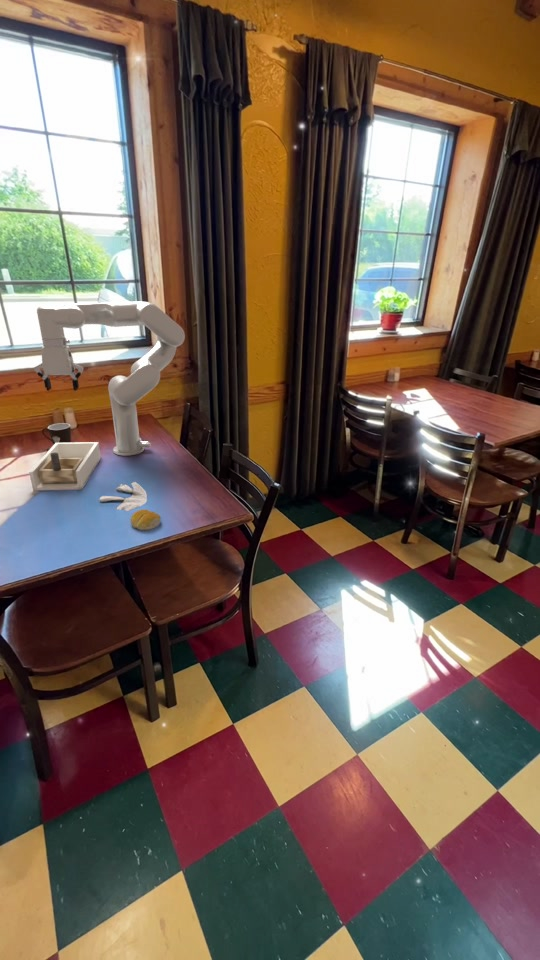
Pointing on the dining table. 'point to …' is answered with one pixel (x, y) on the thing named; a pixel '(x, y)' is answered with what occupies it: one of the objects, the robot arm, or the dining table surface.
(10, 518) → the dining table surface
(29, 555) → the dining table surface
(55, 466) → the box
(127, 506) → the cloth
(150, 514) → the bread roll
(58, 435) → the coffee mug
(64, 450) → the bay
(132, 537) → the dining table surface
